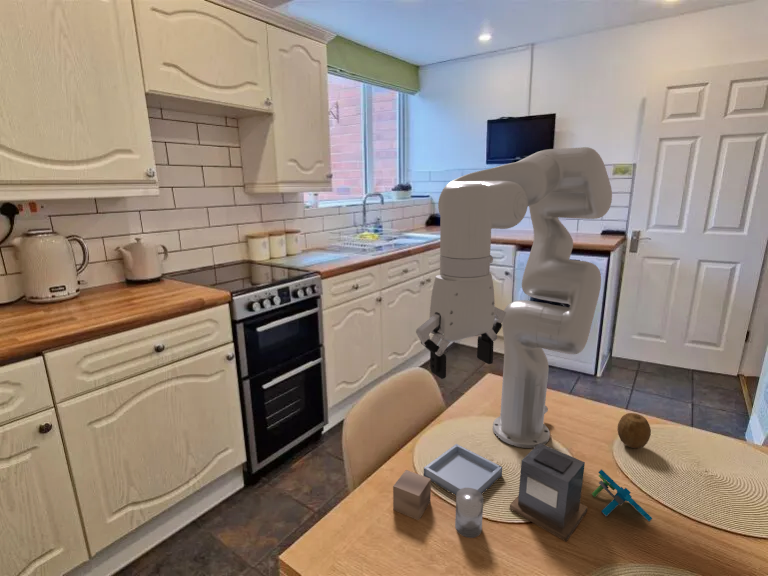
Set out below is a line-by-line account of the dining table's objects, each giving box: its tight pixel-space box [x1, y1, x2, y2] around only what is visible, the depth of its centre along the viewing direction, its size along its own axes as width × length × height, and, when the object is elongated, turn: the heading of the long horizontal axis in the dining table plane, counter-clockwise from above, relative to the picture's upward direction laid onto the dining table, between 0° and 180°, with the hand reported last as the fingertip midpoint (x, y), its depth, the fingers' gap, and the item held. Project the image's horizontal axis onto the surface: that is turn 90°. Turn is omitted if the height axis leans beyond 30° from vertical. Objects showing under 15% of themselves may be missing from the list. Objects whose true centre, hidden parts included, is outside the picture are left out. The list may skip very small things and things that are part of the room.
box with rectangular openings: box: [509, 443, 588, 542], centre depth 73 cm, size 9×10×10 cm
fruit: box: [616, 412, 652, 449], centre depth 91 cm, size 6×6×8 cm
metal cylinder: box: [454, 488, 484, 539], centre depth 70 cm, size 4×4×6 cm
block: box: [392, 469, 432, 521], centre depth 75 cm, size 5×5×5 cm
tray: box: [423, 443, 503, 496], centre depth 83 cm, size 11×11×2 cm
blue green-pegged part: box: [591, 468, 653, 522], centre depth 73 cm, size 11×6×10 cm
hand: (462, 367), depth 69 cm, fingers open, 9 cm apart
